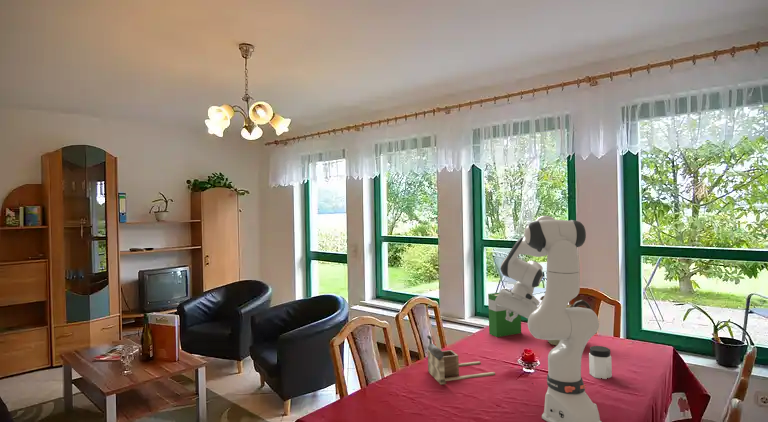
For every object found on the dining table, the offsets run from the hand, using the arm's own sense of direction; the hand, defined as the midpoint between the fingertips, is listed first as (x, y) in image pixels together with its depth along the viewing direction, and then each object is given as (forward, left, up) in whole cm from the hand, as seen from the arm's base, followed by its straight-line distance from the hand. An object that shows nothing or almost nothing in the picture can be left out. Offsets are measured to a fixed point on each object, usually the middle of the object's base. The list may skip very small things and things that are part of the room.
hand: (508, 320), depth 206 cm
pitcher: (+29, -48, -24) cm, 61 cm away
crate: (+3, +30, -22) cm, 37 cm away
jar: (-17, -35, -24) cm, 46 cm away
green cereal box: (+55, -28, -24) cm, 66 cm away
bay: (+3, +23, -23) cm, 33 cm away
